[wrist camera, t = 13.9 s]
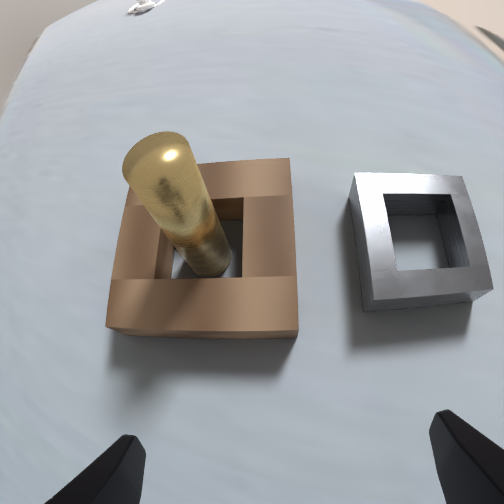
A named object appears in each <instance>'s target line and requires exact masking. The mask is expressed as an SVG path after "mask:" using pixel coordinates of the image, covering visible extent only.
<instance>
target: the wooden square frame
mask: <svg viewBox="0 0 504 504" xmlns="http://www.w3.org/2000/svg"><path fill="white" fill-rule="evenodd" d="M197 166H198V169H199V171H200V174H201V176H202V179H203V181H204V184H205V186H206V189H207V191H208V194H209V196H210V199H211V201H212V204H213V206H214V209H215V211H216V214H217V216H218V219H219V221H222V220H241V219H243V259H242V277H241V278H197V279H171V275H172V265H173V255H174V245H173V244H172V243H171V241H170V240H169V239H168V237H167V236H166V235H165V233H164V232H163V231H162V229H161V228H160V227H159V225H158V224H157V223H156V221H155V220H154V219H153V217H152V216H151V215H150V213H149V212H148V210H147V209H146V208H145V206H144V205H143V204H142V202H141V201H140V199H139V198H138V197H137V195H136V194H135V192H134V191H133V190H132V188H131V187H130V186H129V191H128V195H127V199H126V204H125V208H124V213H123V217H122V222H121V227H120V232H119V237H118V243H117V248H116V254H115V260H114V266H113V272H112V278H111V285H110V292H109V299H108V307H107V316H106V325H105V327H108V328H110V329H113V330H115V331H118V332H120V333H123V334H125V335H136V336H153V337H175V338H211V339H266V338H297V335H298V330H299V328H298V296H297V272H296V251H295V232H294V215H293V199H292V185H291V171H290V158H277V159H258V160H242V161H228V162H216V163H205V164H197Z"/></svg>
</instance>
